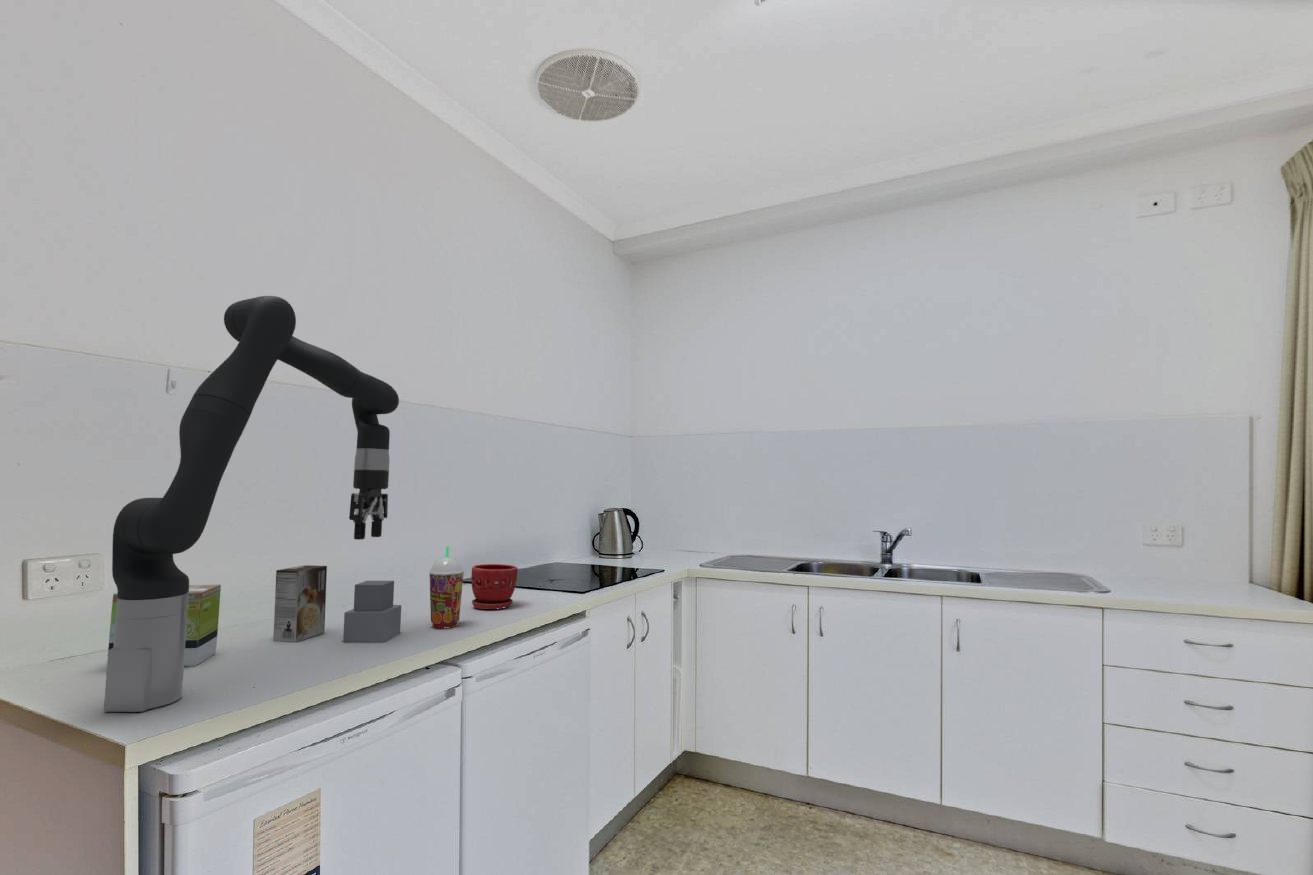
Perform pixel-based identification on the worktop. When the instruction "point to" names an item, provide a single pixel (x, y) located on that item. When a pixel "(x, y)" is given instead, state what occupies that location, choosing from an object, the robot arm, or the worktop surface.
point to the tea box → (193, 623)
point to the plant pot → (493, 585)
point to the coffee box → (300, 603)
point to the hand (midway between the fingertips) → (368, 538)
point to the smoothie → (445, 591)
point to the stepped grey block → (372, 613)
